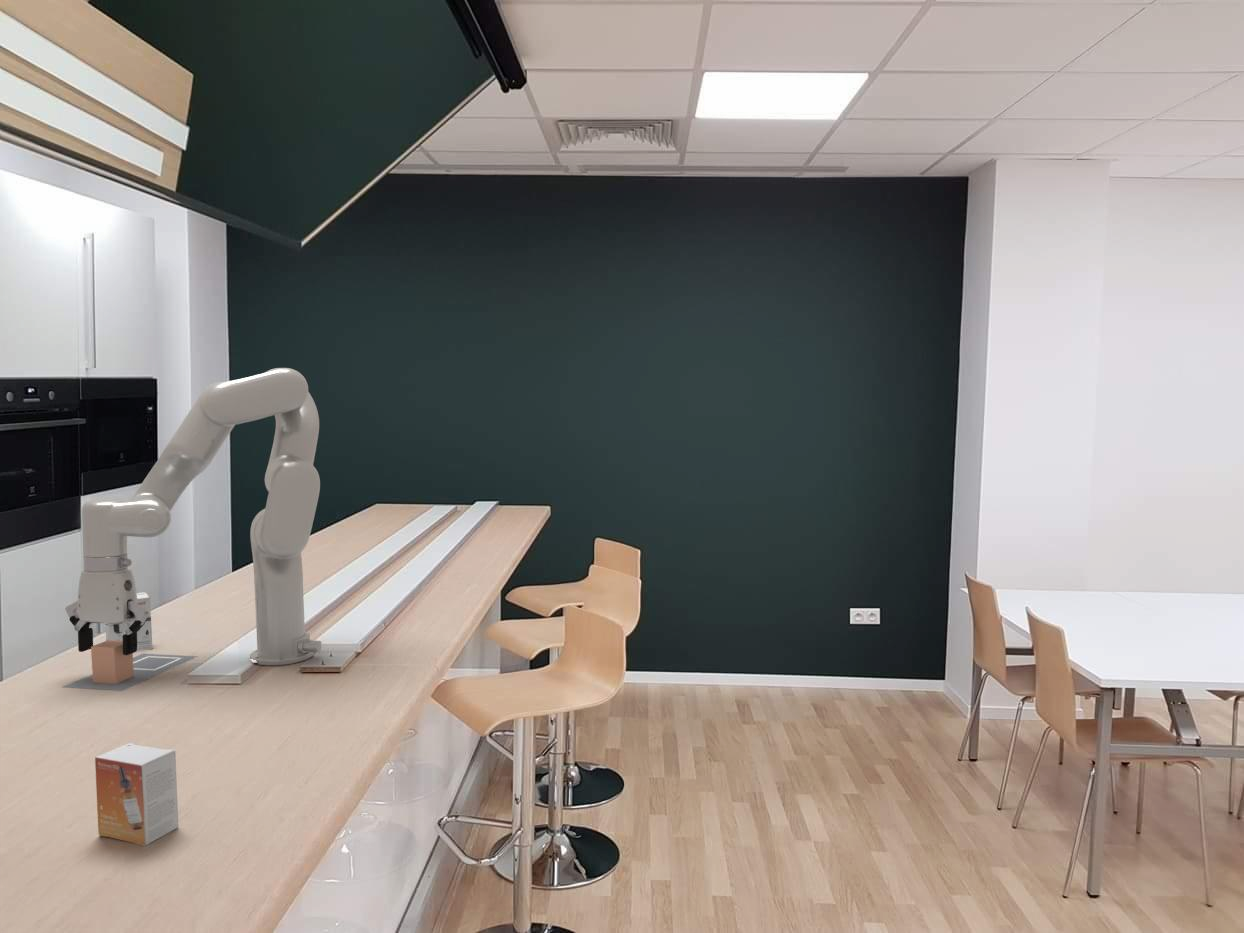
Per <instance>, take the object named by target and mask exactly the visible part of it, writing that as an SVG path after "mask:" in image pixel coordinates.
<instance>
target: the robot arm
mask: <svg viewBox="0 0 1244 933" xmlns="http://www.w3.org/2000/svg"><path fill="white" fill-rule="evenodd" d="M315 403H316V402H315V401H314V398H313V397H312V395H311V393H310V392H309V385H308V382H307V380H306V378H305V377H304V376H303V375H302V373H301V372H299V371H298V370H295V369H293V368H289V367H276V368H272V369H269V370H267V371H265V372H263V373H259V374H254V375H251V376H248V377H247V376H246V377H242V378H239V379H233V380H227V381H217V382H213V383H211V384H209V385H207V387H206V388H204V390H203V391H202V392H201V393H200V395H199V396H198V398H197V399H196V401H195V403H194V404H193V405H192V407H191V408H190V410H189V411H188V413H187V415H186V416H185V418H184V419H183V421H182V422H181V424H180V425H179V427H178V428H177V430H176V431H175V432H174V434H173V436H172V437H171V438H170V440H169V442H168V443H167V444H166V446H165V448H164V449H163V451H162V452H161V454H160V456H159V457H158V459H157V461H156V462H155V463H154V465H153V466H152V467H151V470H150V471H149V472H148V474H147V475H146V477H145V478H144V480H143V481H142V482H141V484H140V486H139V487H138V488H137V490H136V491H135V493H134V495H133V496H132V498H131V500H130V501H123V500H121V499H116V498H99V499H97V498H95V499H91V500H88V501H85V502H84V503H83V505H82V507H81V529H82V565H83V569H82V571H81V572H80V577H79V582H78V583H79V584H78V590H77V601H74V602H73V603H71V604H69V605H67V606H65V612H66V614H67V616H68V617H69V621H70V623H71V624H72V625H73V627H74V628H73V630H74V631H75V632H77V644H78V646H77V648H78V649H77V650H78V652H79V653H80V652H81V653H84V652H85V651H89V650H91V647H92V646H94V630H93V627H91V625H93V624H119V625H120V626H121V628H122V629H123V630H124V632H125V633H126V634H124V635H123V637H122V638H123V654H124V655H129V654H132V653H133V654H135V653H136V652H137V651H138V650H137V632H138V631H140V628H141V627H142V626H143V625H144V624H145V620H146V618H147V616H148V614H149V612H148V610H146V609H144V608H143V607H141V606H140V605H138V603H137V588H136V581H135V578H134V574H133V571H132V569H129V568H128V567H131V566H132V564H133V562H132V559H131V558H130V559H129V558H128V537H135V538H155V537H158V536H160V535H162V534H163V533H165V532H166V531H167V530H168V528H169V526H170V525H171V521H172V515H171V511H172V509H173V508H174V507H175V504H176V503H177V502H178V501H179V498H180V497H181V496H182V494H183V493H184V491H185V490H187V488H188V486H189V484H191V482H192V481H193V480H195V479H196V478H197V477H198V476H199V475H200V474H202V473H203V472H204V471H205V470H206V469H207V468H208V467H209V466H210V464H211V463H212V461H213V460H214V458H215V456H216V455H217V453H218V452H219V450H220V448H221V447H222V446H223V444H224V442H225V441H226V439H227V438H228V436H229V435H230V434H231V432H232V431H233V429H234V427H235V426H236V425H241V424H244V423H249V422H253V421H257V420H262V419H264V418H268V417H272V416H274V418H275V432H274V437H273V443H272V446H271V447H272V448H271V452H270V456H269V460H268V464H267V467H266V471H265V475H264V485H265V488H266V490H267V492H268V494H267V499H266V505H265V507H264V508H263V509H261V511H259V512H257V514H256V515H255V516H254V518H253V520H252V522H251V526H250V533H249V534H250V535H249V536H250V545H251V552H252V563H253V578H254V579H253V580H254V582H253V583H254V602H255V622H256V624H255V625H256V642H257V644H256V646H257V647H256V648H257V649H255V650H254V651H252V652H250V654H249V660H250V659H253V660H256V661H257V663H258V664H257V665H260V666H281V665H282V666H284V665H291V664H296V663H299V662H304V661H306V660H309V659H310V658H312V657H313V656H314V654H315V653H320V652H321V651H322V641H321V640H312V639H311V634H310V633H306V626H305V604H304V603H305V602H304V600H305V598H304V575H303V574H304V572H303V571H304V570H303V560H302V558H303V557H302V552H303V551H304V549H305V548H306V547H307V545H308V543H309V540H310V537H311V532H312V528H313V523H314V519H315V515H316V511H317V507H318V501H319V497H320V490H321V480H320V475H319V472H318V470H317V469H316V467H315V466H314V462H315V455H316V451H317V445H318V440H319V433H320V417H319V413H318V409H317V405H316V404H315ZM134 619H136V621H135V620H134ZM127 623H128V624H129V625H130V626H129V625H128V624H127Z"/></svg>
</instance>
